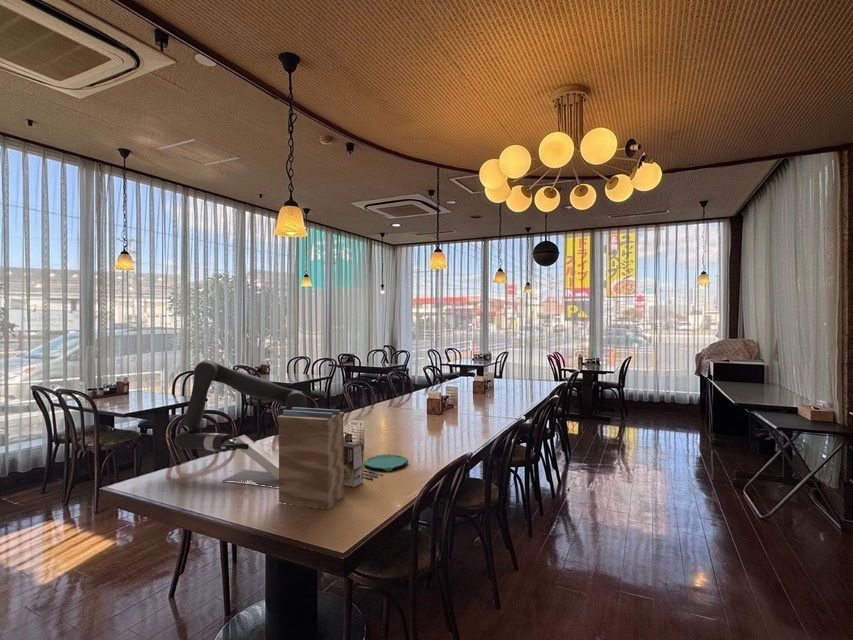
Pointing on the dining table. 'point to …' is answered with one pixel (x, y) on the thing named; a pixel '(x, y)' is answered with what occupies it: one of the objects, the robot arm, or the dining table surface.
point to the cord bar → (260, 456)
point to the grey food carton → (352, 464)
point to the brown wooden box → (311, 457)
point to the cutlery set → (384, 463)
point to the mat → (255, 478)
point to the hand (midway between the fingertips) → (251, 445)
